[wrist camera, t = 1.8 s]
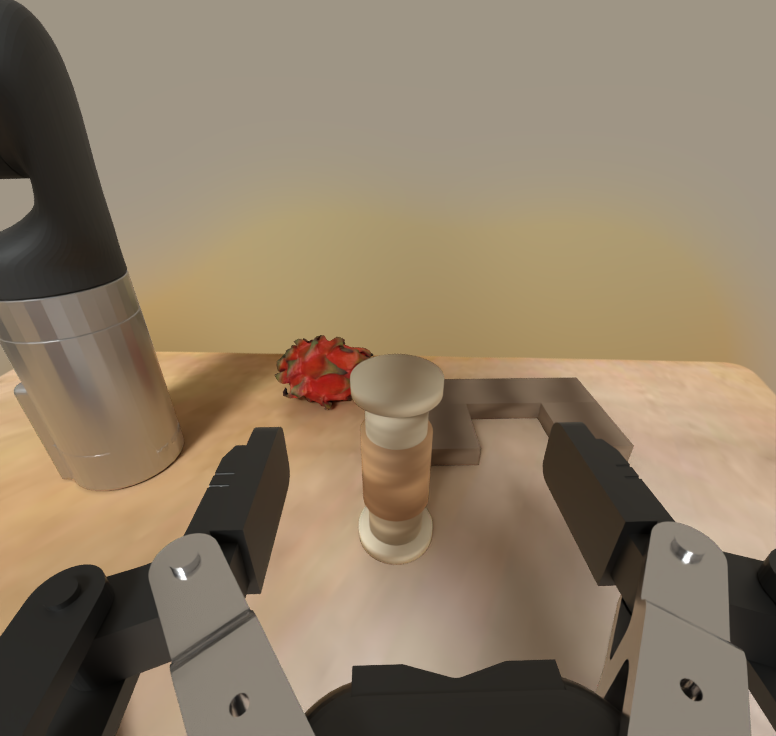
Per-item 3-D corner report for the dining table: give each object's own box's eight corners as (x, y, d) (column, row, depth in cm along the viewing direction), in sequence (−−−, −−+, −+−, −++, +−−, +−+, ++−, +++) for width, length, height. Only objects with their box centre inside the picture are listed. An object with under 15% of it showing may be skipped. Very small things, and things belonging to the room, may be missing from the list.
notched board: (414, 465, 37) (414, 449, 36) (406, 394, 47) (406, 379, 46) (627, 462, 37) (633, 445, 36) (572, 391, 47) (576, 377, 46)
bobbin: (357, 565, 28) (346, 403, 21) (360, 502, 33) (352, 354, 26) (436, 563, 28) (451, 402, 21) (427, 501, 33) (437, 353, 26)
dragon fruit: (273, 416, 46) (369, 405, 51) (283, 412, 38) (395, 400, 43) (267, 345, 47) (361, 341, 52) (275, 327, 39) (386, 325, 44)
